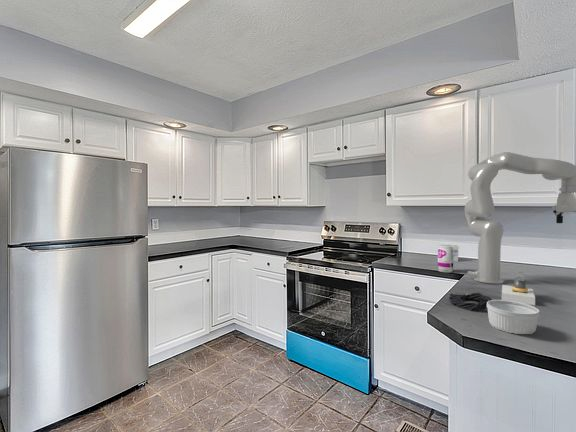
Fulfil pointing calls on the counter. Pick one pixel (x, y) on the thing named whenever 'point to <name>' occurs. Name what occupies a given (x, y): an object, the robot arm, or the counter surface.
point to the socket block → (518, 295)
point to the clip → (520, 276)
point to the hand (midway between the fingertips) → (569, 223)
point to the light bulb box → (455, 252)
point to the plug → (519, 286)
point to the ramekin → (512, 316)
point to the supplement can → (445, 258)
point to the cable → (474, 296)
